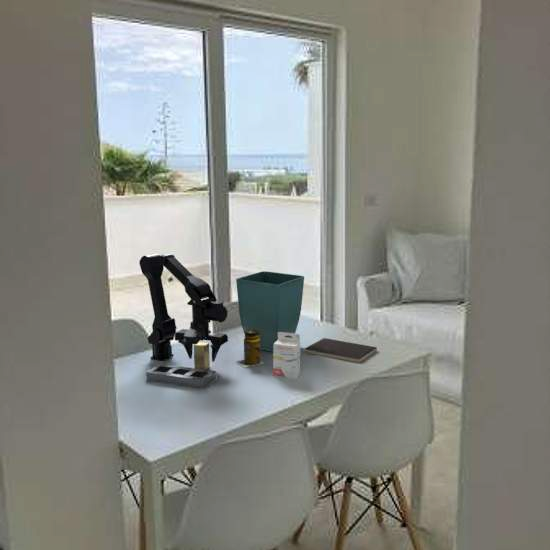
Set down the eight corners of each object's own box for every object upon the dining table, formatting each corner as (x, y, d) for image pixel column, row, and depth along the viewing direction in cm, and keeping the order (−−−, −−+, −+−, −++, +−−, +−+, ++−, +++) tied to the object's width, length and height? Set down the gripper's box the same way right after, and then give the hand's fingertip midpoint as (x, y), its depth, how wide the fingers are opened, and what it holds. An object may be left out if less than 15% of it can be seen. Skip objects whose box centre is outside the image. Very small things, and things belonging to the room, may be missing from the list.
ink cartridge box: (272, 376, 204) (272, 335, 201) (277, 371, 209) (277, 331, 206) (296, 378, 201) (296, 337, 198) (300, 373, 206) (300, 333, 203)
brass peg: (194, 369, 211) (193, 345, 210) (200, 365, 215) (199, 341, 213) (204, 370, 210) (203, 346, 208) (209, 366, 214) (209, 343, 212)
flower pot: (305, 343, 240) (305, 275, 234) (279, 357, 223) (278, 284, 218) (264, 336, 250) (263, 270, 245) (236, 348, 234) (234, 279, 228)
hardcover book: (359, 364, 217) (359, 358, 216) (305, 353, 229) (304, 348, 229) (376, 352, 230) (376, 346, 229) (324, 342, 242) (324, 337, 242)
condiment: (265, 363, 217) (264, 332, 215) (245, 368, 212) (244, 336, 210) (254, 358, 223) (254, 327, 221) (235, 362, 218) (234, 331, 216)
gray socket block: (146, 380, 201) (146, 372, 200) (160, 371, 209) (160, 363, 209) (203, 389, 193) (203, 380, 192) (216, 379, 201) (216, 371, 201)
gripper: (165, 321, 205) (167, 364, 208) (213, 326, 198) (214, 370, 201) (181, 313, 215) (183, 354, 218) (228, 318, 208) (229, 360, 211)
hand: (201, 360), depth 212 cm, fingers open, 9 cm apart
